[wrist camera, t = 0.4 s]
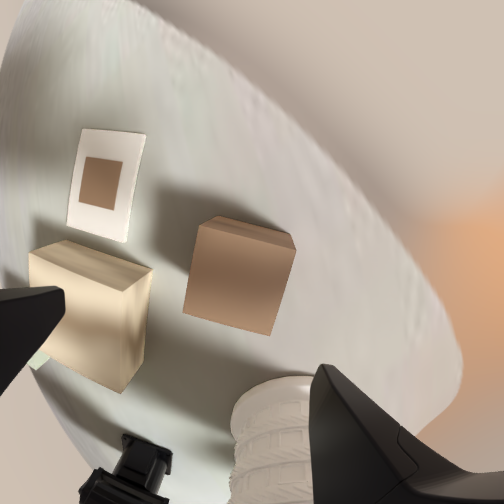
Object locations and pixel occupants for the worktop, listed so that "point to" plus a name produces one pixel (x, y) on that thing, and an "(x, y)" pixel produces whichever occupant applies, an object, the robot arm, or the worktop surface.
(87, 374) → the birch plinth
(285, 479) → the decorative container
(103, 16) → the worktop surface
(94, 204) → the card
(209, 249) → the walnut cube
